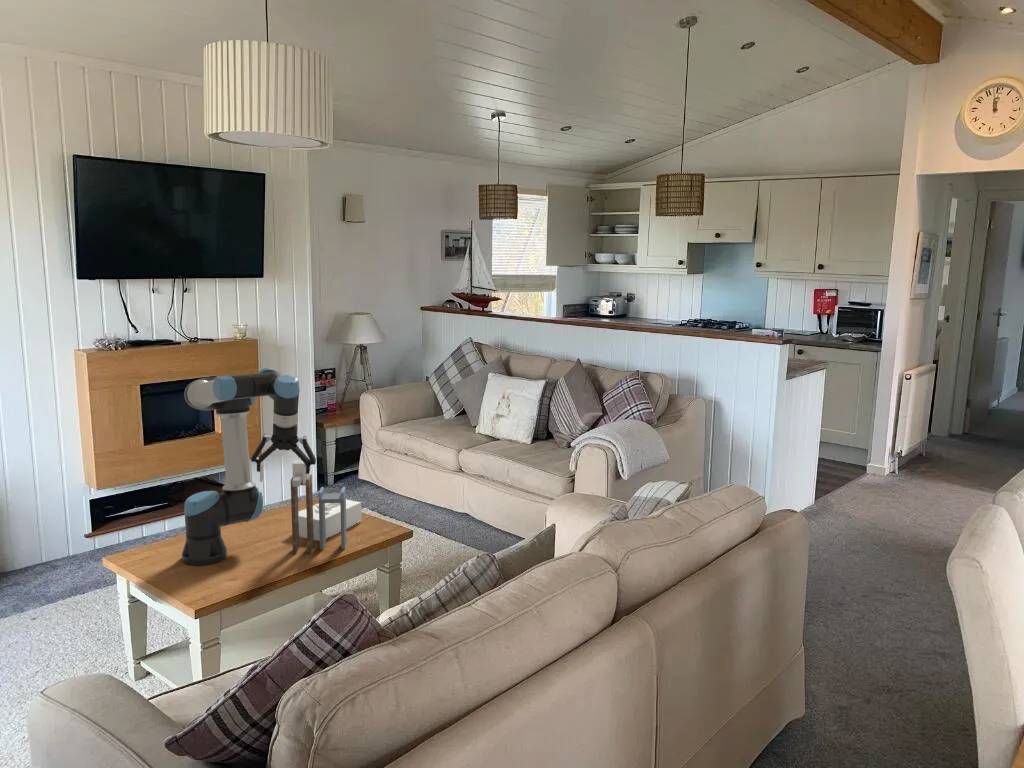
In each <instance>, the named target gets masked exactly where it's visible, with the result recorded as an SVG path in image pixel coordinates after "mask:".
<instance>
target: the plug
mask: <svg viewBox="0 0 1024 768" xmlns="http://www.w3.org/2000/svg"><path fill="white" fill-rule="evenodd" d="M291 465H292V477H293V481H292V483H293V487H300V486H301V485H300V484H301V482H302V481H303V471H304V462H303V461H302V460H301V459H295V460H294V461H293V462H292V463H291ZM309 475H310V473H309V474H306V480H307V479H308V477H309Z"/></svg>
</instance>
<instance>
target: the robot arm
mask: <svg viewBox="0 0 1024 768" xmlns="http://www.w3.org/2000/svg"><path fill="white" fill-rule="evenodd" d="M300 390H301V389H300V381H299V379H298V378H297V377H295V376H292V375H287V374H286V375H285V374H284V375H283V374H281V372H279V371H278V370H276V369H275V368H272V367H265V368H262V369H261V370H259V371H258V372H256V373H247V374H237V375H236V374H233V375H232V374H231V375H230V374H229V375H223V376H222V375H221V376H214V377H204V378H203V377H202V378H199V379H195V380H193V381H191V382H190V383H189V384H188V385H187V386H186V387H185V389H184V393H183V395H184V396H183V397H184V401H185V402H186V403H187V405H189V406H190V408H193V409H195V410H198V411H199V410H200V411H215V413H216V416H218V417H219V418H220V420H221V421H220V422H221V433H222V435H221V436H222V444H223V446H222V447H223V458H224V459H223V460H224V470H225V481H226V482H225V484H224V485H223V486H222V488H221V491H222V493H219V492H218V491H217V490H208V491H207V490H205V491H200V492H197V493H194V494H192V495H190V496H189V497H187V498H186V500H185V502H184V509H183V514H184V522H185V523H184V525H185V542H184V546H183V549H182V553H181V561H182V563H183V562H184V563H183V564H185V563H186V564H185V565H188V564H191V565H190V566H205V565H206V564H208V565H212V564H211V563H213V564H216V563H219V562H221V561H223V560H225V559H226V557H228V548H227V547H226V544H225V541H224V539H223V536H222V530H221V529H222V527H226V526H231V525H235V524H241V523H247V522H249V521H253V520H256V519H258V518H259V517H260V516H261V514H262V513H263V512H262V511H263V508H264V497H263V493H262V490H261V489H260V488H259V487H257V486H256V485H257V484H256V483H255V482H254V481H253V480H252V477H251V475H252V474H251V463H250V462H252V463H255V464H256V472H258V473H259V482H260V483H261V482H262V483H263V481H264V470H265V469H264V467H265V465H264V464H265V460H266V459H267V458H268V457H269V456H270V455H271V454H272V453H273V452H275V451H276V450H277V449H278V451H290V450H291V451H292V452H293V453H294V454H295V455H296V456H297V457H298V458H299V460H302V461H303V462H304V471H303V484H305V482H306V474H309V475H310V470H311V465H313V466H314V465H316V463H317V458H316V456H315V455H314V451H313V450H312V449H311V447H310V445H309V442H308V437H307V435H303V437H298V420H299V401H300ZM260 397H269V398H270V399H272V400H273V418H272V419H273V420H272V421H273V423H272V435H268V434H267V433H263V435H262V438H261V441H260V443H259V444H258V446H257V447H256V449H255V451H254V452H253V454H252V455H251V458H250V451H249V439H248V438H249V435H248V427H247V426H248V425H247V424H248V423H247V415H248V414H249V413H250V412H251V407H252V406H253V405H254V404H255V403H256V401H255V400H256V398H260ZM269 441H271V443H272V444H271V445H270V446H269V447H268V448H267V449H266V450H264V451H263V448H264V447H265V445H266V444H267V443H269ZM298 443H300V445H302V447H303V449H304V451H305V453H304V452H303V451H302V449H301V448H300V447H299V445H298ZM262 451H263V452H262ZM261 452H262V454H260V453H261ZM218 561H219V562H218ZM215 562H216V563H215ZM206 566H207V565H206Z"/></svg>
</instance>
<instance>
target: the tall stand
mask: <svg viewBox="0 0 1024 768" xmlns="http://www.w3.org/2000/svg"><path fill="white" fill-rule="evenodd" d="M292 481H293V476H292V477H291V479H290V505H291V508H290V509H291V532H292V533H291V536H292V554H293V555H297V553H298V551H299V549H300V547H301V546H300V537H299V514H298V512H299V491H298V490H299V488H298V487H293V483H292ZM300 486H305V507H306V508H305V509H306V513H307V538H306V539H307V541H306V543H307V544H306V545H307V546H306V547H307V554H308V555H309V554H312V553H313V550H314V548H315V540H314V531H313V505H314V501H313V500H314V498H313V497H314V496H313V474H309V477H308V479H307V480H306V482H305V484H303V481H302V482H301V484H300Z"/></svg>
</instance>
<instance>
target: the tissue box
mask: <svg viewBox="0 0 1024 768" xmlns="http://www.w3.org/2000/svg"><path fill="white" fill-rule="evenodd" d="M298 514H299V538H304V539H307V513H306V508H304V509H302V510H298ZM360 521H362V502H361V501H355V500H351V499H348V498H347V496H346V530H347V528H348V529H350V528H352V527H354V526H355V525H354V524H356V523H358V522H360ZM360 523H361V522H360ZM358 524H359V523H358ZM353 525H354V526H353ZM356 525H357V524H356ZM325 526H326V538H328V537H330V538H331V536H332V537H334V536H336V535H337V533H338V534H340V533H341V509H340V503H325ZM351 526H352V527H351ZM349 527H350V528H349ZM313 531H314V541H317V540H318V542H320V529H319V502H318V503H315V504H313ZM339 532H340V533H339ZM335 534H336V535H335ZM333 535H334V536H333ZM328 539H329V538H328Z"/></svg>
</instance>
